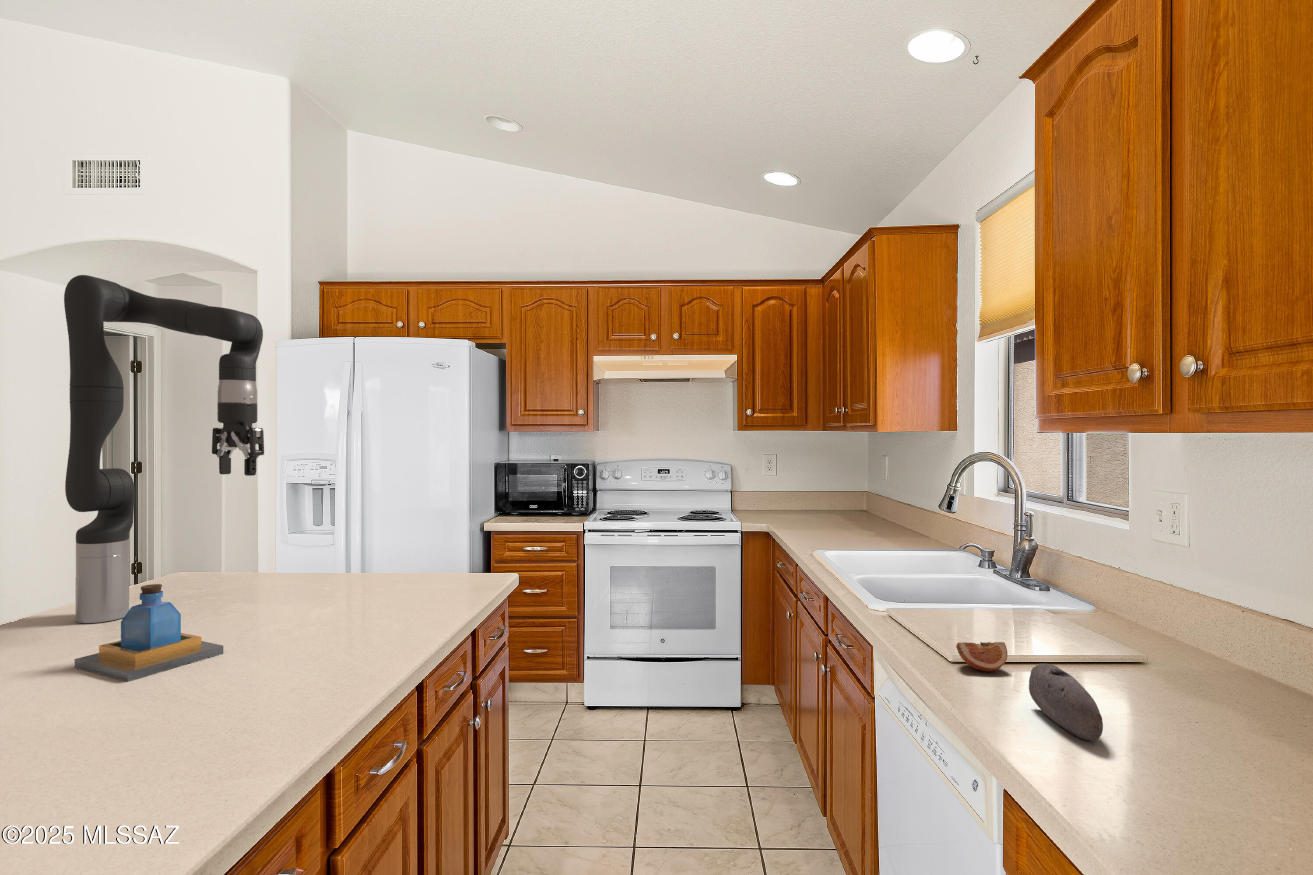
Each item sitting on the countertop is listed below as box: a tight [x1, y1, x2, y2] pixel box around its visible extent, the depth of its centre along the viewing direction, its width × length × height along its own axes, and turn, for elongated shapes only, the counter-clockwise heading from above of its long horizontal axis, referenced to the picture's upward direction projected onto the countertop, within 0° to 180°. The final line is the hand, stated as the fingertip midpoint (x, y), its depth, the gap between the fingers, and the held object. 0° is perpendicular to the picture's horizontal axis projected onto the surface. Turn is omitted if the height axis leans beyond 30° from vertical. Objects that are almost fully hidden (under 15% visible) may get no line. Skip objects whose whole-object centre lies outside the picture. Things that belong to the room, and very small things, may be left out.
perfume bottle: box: [120, 583, 182, 652], centre depth 124 cm, size 6×6×12 cm
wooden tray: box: [74, 632, 224, 683], centre depth 123 cm, size 16×16×4 cm
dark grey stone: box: [1028, 663, 1104, 742], centre depth 97 cm, size 15×5×7 cm, turn 175°
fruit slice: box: [955, 641, 1008, 673], centre depth 121 cm, size 8×7×5 cm
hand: (237, 474), depth 150 cm, fingers open, 8 cm apart
